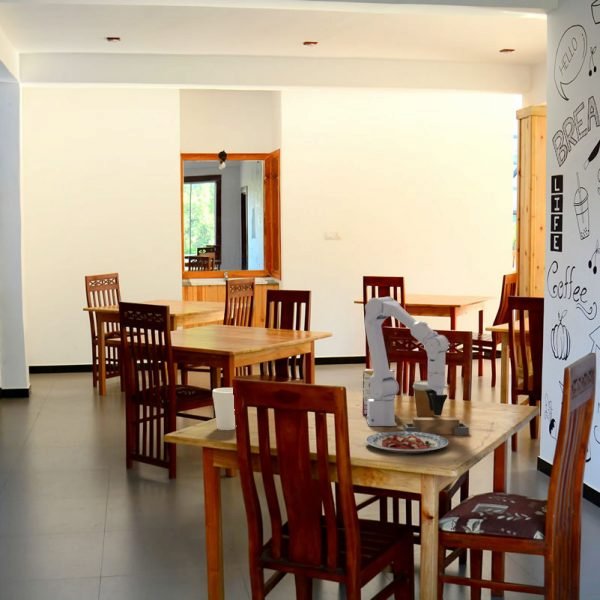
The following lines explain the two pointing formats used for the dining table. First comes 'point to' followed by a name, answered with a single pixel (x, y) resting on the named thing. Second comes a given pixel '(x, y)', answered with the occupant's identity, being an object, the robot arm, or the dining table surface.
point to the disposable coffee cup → (422, 399)
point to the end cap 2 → (461, 429)
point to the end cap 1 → (410, 427)
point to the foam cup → (224, 408)
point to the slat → (436, 425)
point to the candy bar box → (367, 388)
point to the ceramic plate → (406, 441)
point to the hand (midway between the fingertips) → (435, 412)
